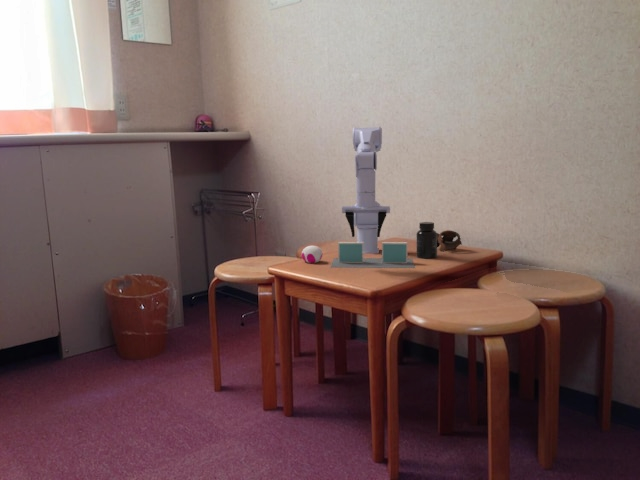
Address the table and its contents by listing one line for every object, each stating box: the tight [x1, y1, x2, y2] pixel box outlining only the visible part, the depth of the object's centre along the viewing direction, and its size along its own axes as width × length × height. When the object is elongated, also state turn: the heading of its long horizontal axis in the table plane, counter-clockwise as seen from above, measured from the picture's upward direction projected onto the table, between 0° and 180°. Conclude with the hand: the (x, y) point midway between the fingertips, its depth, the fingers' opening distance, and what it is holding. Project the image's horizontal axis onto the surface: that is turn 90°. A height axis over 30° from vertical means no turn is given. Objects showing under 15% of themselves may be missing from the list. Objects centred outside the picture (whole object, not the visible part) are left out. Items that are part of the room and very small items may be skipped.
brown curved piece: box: [437, 229, 463, 252], centre depth 204 cm, size 12×10×8 cm
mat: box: [330, 257, 416, 269], centre depth 182 cm, size 15×26×1 cm, turn 84°
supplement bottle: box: [415, 221, 438, 260], centre depth 189 cm, size 7×7×12 cm
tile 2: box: [381, 241, 408, 263], centre depth 181 cm, size 2×8×6 cm, turn 84°
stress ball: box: [301, 245, 323, 264], centre depth 184 cm, size 8×8×7 cm
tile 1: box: [337, 241, 364, 263], centre depth 182 cm, size 2×8×6 cm, turn 84°
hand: (365, 236), depth 173 cm, fingers open, 7 cm apart
